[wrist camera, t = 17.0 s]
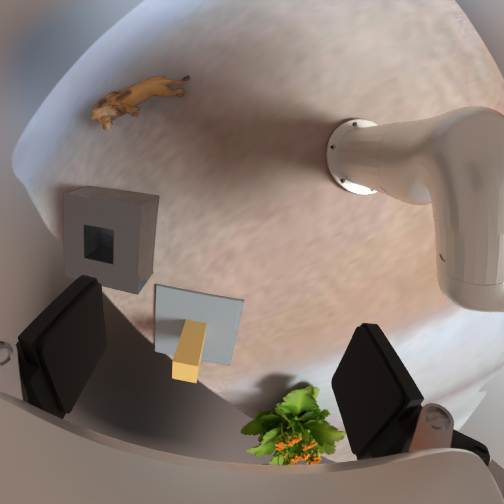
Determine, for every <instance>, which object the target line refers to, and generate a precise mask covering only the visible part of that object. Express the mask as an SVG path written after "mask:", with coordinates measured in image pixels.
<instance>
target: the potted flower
mask: <svg viewBox="0 0 504 504" xmlns="http://www.w3.org/2000/svg"><path fill="white" fill-rule="evenodd" d="M318 392H319V389H318V388H317V387H314V388H313V387H312V386H311V385H310V386H308V387H306V388H304V389H297V390H293V391H291V393H288V394H287V396H285V397H283V400H284V401H285V402H283V403H281V402H279V403H277V404H276V406H277V407H278V408H276V407H274V408H275V409H276V410H274V411H273V412H266V411H259V413H258V414H257V415H256V416H255V418H254V419H253V420H252V421H251V422H249V423H248V424H247V425H245V426H244V427H243V428H242V429H241V433H242V434H243V433H244V435H247V434H248V435H252V434H253V435H258V434H260V436H259V438H258V441H259V442H260V444H259V446H256V447H253V448H250V449H247V450H246V452H248V453H251V454H252V455H253V454H254V453H255V456H257V457H258V456H261V455H264V454H265V452H266V454H267V455H270V454H271V452H273V449H274V450H276V452H275V454H274V455H273V457H272V460H271V461H270V462H269V464H270V465H298V464H296V463H297V461H299V460H306V459H307V461H306V465H312V464H313V463H318V462H319V461H320V460H321V458H320V456H322V454H324V453H326V454H328V455H330V454H334V453H335V447H336V446H335V442H334V441H337V442H338V441H339V440H342V439H344V436H343V435H346V432H343V431H338V429H337V428H335V427H334V426H330V423H329V422H327V421H325V420H324V419H325V416H326V417H328V415H330V413H329V411H328V410H323V411H321V410H320V409H319V406H318V405H317V404H316V403H317V402H316V400H315V399H316V397H317V395H318ZM315 402H316V403H315ZM320 411H321V412H320ZM303 450H304V451H303ZM312 450H313V453H312V452H311V451H312ZM306 452H308V454H306ZM311 453H312V454H311ZM321 453H322V454H321ZM319 455H320V456H319ZM309 456H310V458H309Z"/></svg>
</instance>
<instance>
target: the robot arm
mask: <svg viewBox="0 0 504 504" xmlns="http://www.w3.org/2000/svg"><path fill="white" fill-rule="evenodd" d="M352 123H353V124H354V126H353V125H352ZM331 146H333V149H331ZM326 160H327V165H328V168H329V171H330V173H331V175H332V177H333V178H334V179H335V181H336V182H337V183H338V184H339V185H340V186H341V187H343V188H344V189H346V190H347V191H350V192H352V193H355V194H360V195H367V194H372V193H375V192H380V193H383V194H385V195H388V196H390V197H393V198H396V199H398V200H401V201H404V202H406V203H409V204H413V205H426V204H429V203H432V209H433V218H434V225H435V239H436V260H437V277H438V283H439V286H440V289H441V291H442V293H443V294H444V296H445V297H446V298H447V299H448V300H449V301H451V302H452V303H453V304H455V305H457V306H459V307H462V308H464V309H468V310H473V311H480V312H504V115H502V114H501V113H500V112H498V111H496V110H494V109H491V108H487V107H475V106H471V107H464V108H459V109H456V110H452V111H450V112H447V113H444V114H441V115H439V116H436V117H432V118H429V119H424V120H417V121H410V122H401V123H392V124H385V125H378V124H376V123H374V122H372V121H369V120H366V119H355V120H350V121H347V122H345V123H343V124H341V125H340V126H339V127H337V128H336V129H335V131H334V132H333V133H332V134H331V137H330V139H329V141H328V144H327V149H326ZM341 178H342V181H340V179H341ZM18 340H19V342H18V343H17V344H16V345H15V344H14V342H12V341H11V340H9V339H6V338H0V504H504V469H503V468H502V467H501V466H499V465H498V464H497V463H496V462H495V461H493V460H491V461H490V455H489V452H488V449H487V447H486V446H485V445H483V444H482V443H480V442H478V441H476V440H474V439H472V438H470V437H468V436H466V435H464V434H462V433H459V432H458V431H456V430H454V429H453V427H454V420H453V418H452V415H451V414H450V412H449V411H448V410H447V409H446V408H444V407H443V406H441V405H438V404H435V403H430V404H426V405H425V406H424V407H422V406H421V403H422V401H423V400H424V398H423V396H422V394H421V392H420V391H419V389H418V387H417V386H416V384H415V382H414V381H413V379H412V377H411V376H410V374H409V372H408V371H407V369H406V368H405V366H404V364H403V363H402V361H401V360H400V358H399V356H398V355H397V353H396V352H395V350H394V349H393V347H392V345H391V344H390V342H389V341H388V339H387V338H386V336H385V335H384V333H383V332H382V330H381V329H380V327H379V326H378V325H377V324H369V323H363V324H362V325H361V326H360V327H357V328H356V330H355V332H354V334H353V336H352V339H351V341H350V343H349V345H348V347H347V349H346V351H345V353H344V355H343V358H342V360H341V362H340V364H339V366H338V368H337V370H336V372H335V373H334V375H333V378H332V382H331V384H332V389H333V392H334V395H335V398H336V401H337V404H338V407H339V411H340V414H341V417H342V420H343V424H344V427H345V430H346V434H347V437H348V440H349V444H350V447H351V450H352V453H353V454H356V456H357V461H349V462H340V463H329V464H313V465H255V464H241V463H230V462H221V461H212V460H204V459H198V458H192V457H186V456H181V455H176V454H171V453H166V452H161V451H157V450H153V449H149V448H145V447H141V446H137V445H133V444H130V443H127V442H123V441H120V440H117V439H114V438H111V437H108V436H105V435H102V434H99V433H96V432H94V431H91V430H88V429H86V428H83V427H81V426H78V425H75V424H73V423H70V422H68V421H65V420H63V418H64V416H65V414H66V413H70V412H71V411H72V408H73V407H74V405H75V403H76V401H77V399H78V397H79V395H80V394H81V392H82V390H83V388H84V386H85V385H86V383H87V381H88V379H89V377H90V376H91V374H92V372H93V370H94V369H95V367H96V365H97V363H98V362H99V360H100V358H101V357H102V355H103V353H104V351H105V349H106V346H107V339H106V331H105V322H104V312H103V299H102V286H101V284H100V283H98V280H97V279H96V278H94V277H90V276H86V275H81V276H80V277H79V278H78V279H76V280H75V281H74V282H73V283H72V284H71V285H70V286H69V287H68V288H67V289H65V290H64V291H63V292H62V293H61V294H60V295H59V296H58V297H57V298H56V299H55V300H54V301H53V302H52V303H51V304H50V305H49V306H48V307H47V308H46V309H45V310H44V311H43V312H42V313H41V314H40V315H39V316H38V317H37V318H36V319H35V320H34V321H33V322H32V323H31V324H30V325H29V326H28V327H27V328H26V329H25V330H24V331H23V332H22V333H21V334H20V335H19V336H18ZM489 461H490V462H489Z"/></svg>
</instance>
